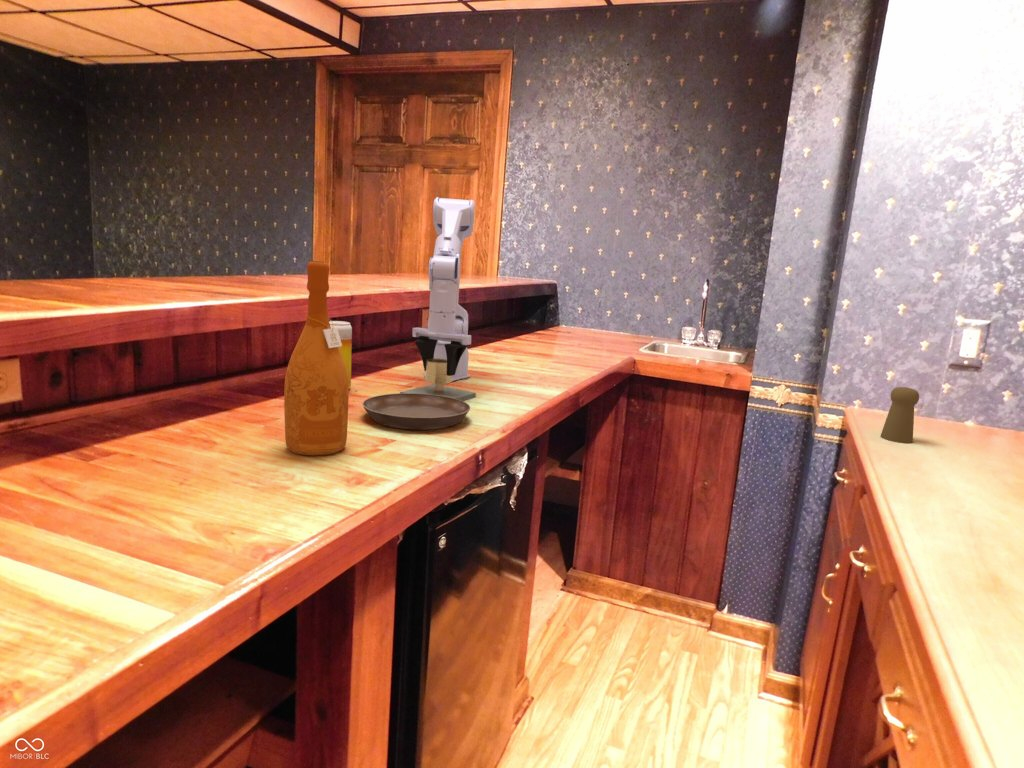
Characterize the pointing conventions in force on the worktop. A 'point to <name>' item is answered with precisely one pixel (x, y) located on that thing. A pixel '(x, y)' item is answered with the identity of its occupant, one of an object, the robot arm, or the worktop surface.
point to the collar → (437, 371)
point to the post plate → (443, 392)
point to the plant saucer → (416, 410)
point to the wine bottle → (316, 378)
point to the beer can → (345, 343)
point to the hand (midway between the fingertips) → (439, 372)
